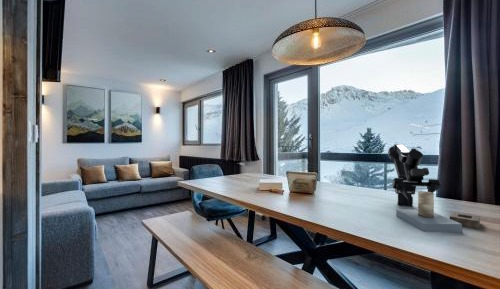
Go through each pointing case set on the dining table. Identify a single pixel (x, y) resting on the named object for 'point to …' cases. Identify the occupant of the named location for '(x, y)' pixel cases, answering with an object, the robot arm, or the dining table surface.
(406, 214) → the board
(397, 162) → the robot arm
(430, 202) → the leg
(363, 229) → the dining table surface
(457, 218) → the frame
